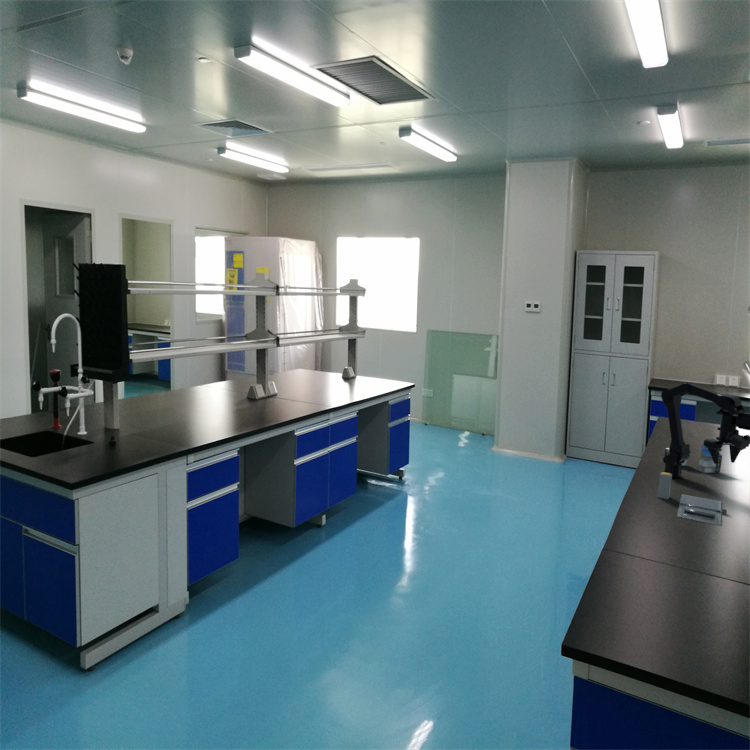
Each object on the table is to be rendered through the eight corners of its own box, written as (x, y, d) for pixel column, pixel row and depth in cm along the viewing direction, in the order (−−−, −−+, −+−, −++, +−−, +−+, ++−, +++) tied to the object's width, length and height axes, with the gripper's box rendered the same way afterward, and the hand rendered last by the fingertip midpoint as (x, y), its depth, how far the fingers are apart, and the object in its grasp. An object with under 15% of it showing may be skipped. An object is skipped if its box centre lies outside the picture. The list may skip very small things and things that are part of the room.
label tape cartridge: (704, 473, 278) (707, 447, 277) (697, 471, 282) (701, 445, 280) (720, 473, 281) (723, 446, 279) (713, 470, 285) (716, 444, 283)
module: (658, 494, 246) (661, 471, 244) (669, 496, 244) (672, 473, 242) (657, 497, 242) (659, 473, 241) (668, 499, 240) (671, 475, 239)
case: (681, 495, 247) (682, 490, 246) (726, 503, 239) (726, 498, 239) (677, 516, 222) (677, 512, 222) (726, 526, 214) (727, 521, 214)
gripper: (727, 431, 240) (723, 470, 242) (763, 429, 246) (758, 467, 248) (704, 425, 251) (700, 462, 253) (738, 423, 257) (734, 460, 259)
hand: (724, 463), depth 253 cm, fingers open, 9 cm apart
